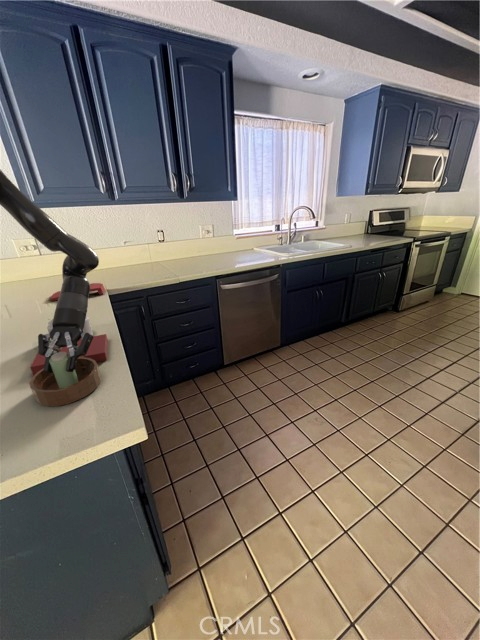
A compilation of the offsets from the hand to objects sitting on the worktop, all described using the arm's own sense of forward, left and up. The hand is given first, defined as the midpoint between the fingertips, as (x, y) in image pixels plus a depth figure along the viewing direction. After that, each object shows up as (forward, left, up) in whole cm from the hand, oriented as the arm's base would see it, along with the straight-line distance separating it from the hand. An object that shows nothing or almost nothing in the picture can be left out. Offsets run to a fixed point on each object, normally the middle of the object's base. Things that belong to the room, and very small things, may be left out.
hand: (59, 371), depth 69 cm
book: (0, +20, -7) cm, 21 cm away
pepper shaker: (+1, +2, -6) cm, 6 cm away
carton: (-6, +91, -7) cm, 91 cm away
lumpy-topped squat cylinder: (-2, +35, -7) cm, 35 cm away
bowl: (+1, +2, -7) cm, 7 cm away
